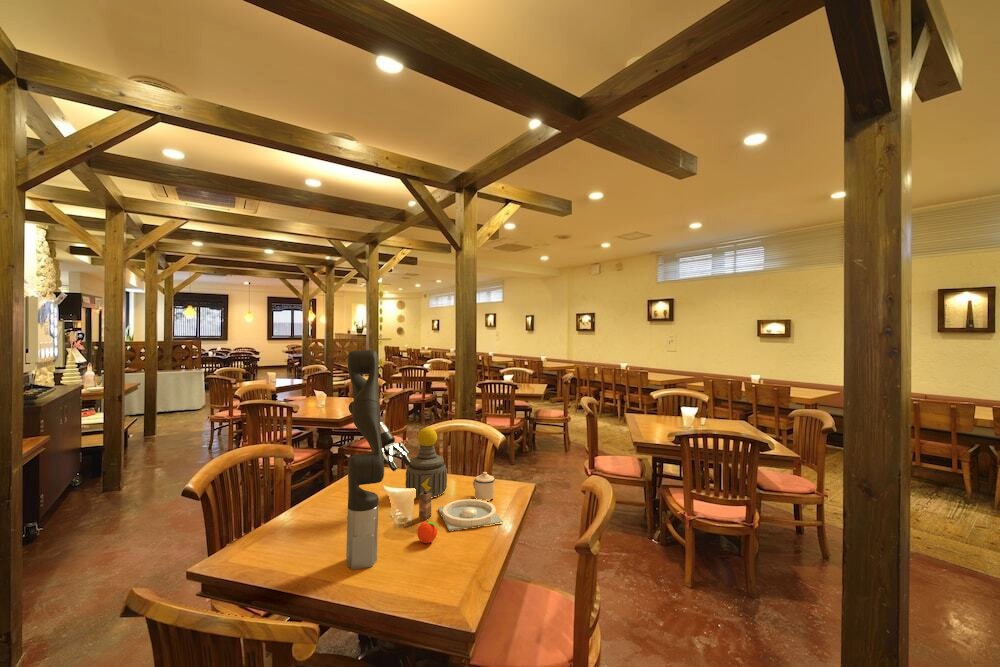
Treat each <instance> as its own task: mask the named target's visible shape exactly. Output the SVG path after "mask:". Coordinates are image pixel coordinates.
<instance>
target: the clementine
mask: <svg viewBox="0 0 1000 667" xmlns="http://www.w3.org/2000/svg"><path fill="white" fill-rule="evenodd" d="M438 531H440V530H439V526H438V525H437V524H436V523H434V522H433V521H430V520H426V521H425V520H424V521H423V522H421V524H419V526H418V528H417V532H416V535H417V537H418V538H417V539H419V541H420V542H421V543H423V544H430V543H431V542H433V541H434V540H435V539H436V538H437V535H438Z"/></svg>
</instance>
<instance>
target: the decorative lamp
mask: <svg viewBox="0 0 1000 667" xmlns="http://www.w3.org/2000/svg"><path fill="white" fill-rule="evenodd" d="M437 440H438V434H437V432H436V431H435V429H433V428H431V427H423V428H422V429H421V430H420V431H419V432H418V435H417V442H418V444H419V449H418V453H417V455H415V456H413V457H411V458H409V460H410V462H411V463H410V464H409V465H408V466H407V469H406V470H405V484H404V485H405V489H406V488H415V489H416V498H419V494H421V493H423V492H424V491H425V490H426V491H427V492H429V493H432V497H434V496H438V495H440V494H442V493H443V492H444V491H445V492H446V490H447V487H448V484H447V483H448V469H447V466H446V464H445V459H444V458H443V457H442V456H441V455H439V454H437V453H436V448H435V444H436V443H437ZM442 495H443V494H442Z"/></svg>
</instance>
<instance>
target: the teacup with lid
mask: <svg viewBox="0 0 1000 667" xmlns="http://www.w3.org/2000/svg"><path fill="white" fill-rule="evenodd" d="M472 485H473V488H474V498H475V497H476V498H477V499H482V500H486V499H491V498H493V497H494V498H495V477H494V476H493V475H490V474H488V472H487V471H483V472H482V474H480V475H477V476H475V477H474V479H473V482H472Z"/></svg>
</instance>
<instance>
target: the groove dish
mask: <svg viewBox="0 0 1000 667" xmlns="http://www.w3.org/2000/svg"><path fill="white" fill-rule="evenodd" d="M438 509H439V510H438ZM496 509H497V508H496V506H495V505H494V504H493V503H491V502H490V501H489V502H487V501H483V500H478V499H475V498H473V499H471V498H467V499H466V498H465V499H457V500H455V501H451V502H448V503H447V504H445V505H444V506H438V508H437V510H438V512H439V511H440V512H439V514H440V513H441V514H440V516H441V515H442V516H441V518H442V517H443V518H442V520H443V519H444V521H445V523H444V524H446V525H445V527H446V526H447V527H446V528H448V529H447V530H449V531H451V532H453V531H452V530H458V529H464V528H472V527H478V526H484V525H490V524H495V523H500V522H503V523H504V521H503V520H502V518H500V516H499V515H498V514H497V510H496ZM444 521H443V522H444ZM472 529H473V528H472ZM449 531H448V532H449ZM458 531H459V530H458Z"/></svg>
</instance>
